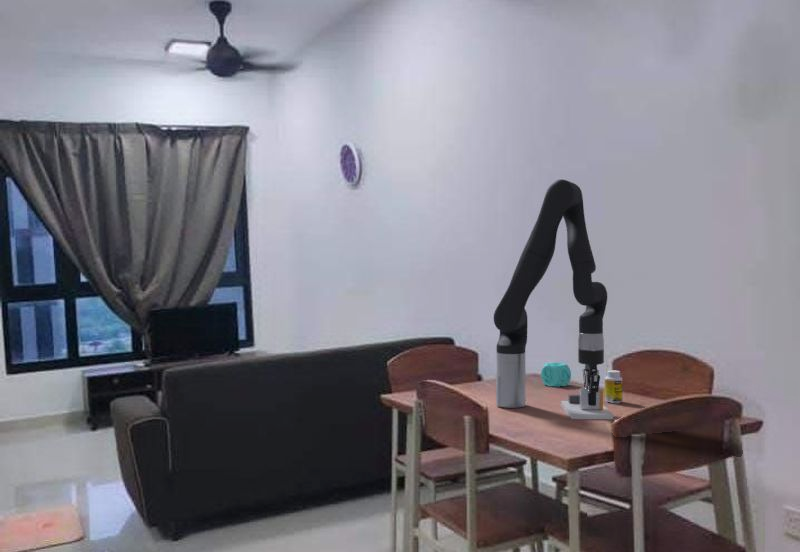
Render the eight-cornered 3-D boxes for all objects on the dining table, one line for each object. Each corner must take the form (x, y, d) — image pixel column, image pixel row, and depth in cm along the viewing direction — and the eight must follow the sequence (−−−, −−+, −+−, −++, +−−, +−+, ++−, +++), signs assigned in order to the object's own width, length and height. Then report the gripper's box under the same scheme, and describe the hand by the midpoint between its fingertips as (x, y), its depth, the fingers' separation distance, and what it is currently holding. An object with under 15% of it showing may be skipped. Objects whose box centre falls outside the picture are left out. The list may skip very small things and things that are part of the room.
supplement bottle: (614, 404, 241) (614, 373, 241) (601, 401, 246) (601, 370, 245) (626, 402, 244) (626, 371, 244) (612, 399, 249) (612, 369, 248)
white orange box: (581, 409, 225) (581, 389, 225) (579, 408, 228) (579, 388, 228) (603, 409, 225) (603, 389, 225) (601, 408, 228) (601, 388, 228)
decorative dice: (571, 385, 277) (571, 363, 277) (558, 388, 272) (557, 366, 272) (554, 382, 283) (554, 361, 283) (540, 385, 278) (540, 363, 278)
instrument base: (571, 419, 220) (571, 403, 220) (561, 405, 240) (561, 391, 240) (613, 419, 219) (613, 403, 219) (598, 405, 239) (598, 391, 239)
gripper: (574, 345, 233) (574, 400, 234) (583, 350, 219) (583, 409, 220) (598, 344, 233) (598, 400, 233) (608, 350, 219) (609, 409, 219)
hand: (591, 404), depth 226 cm, fingers closed on white orange box, 2 cm apart
